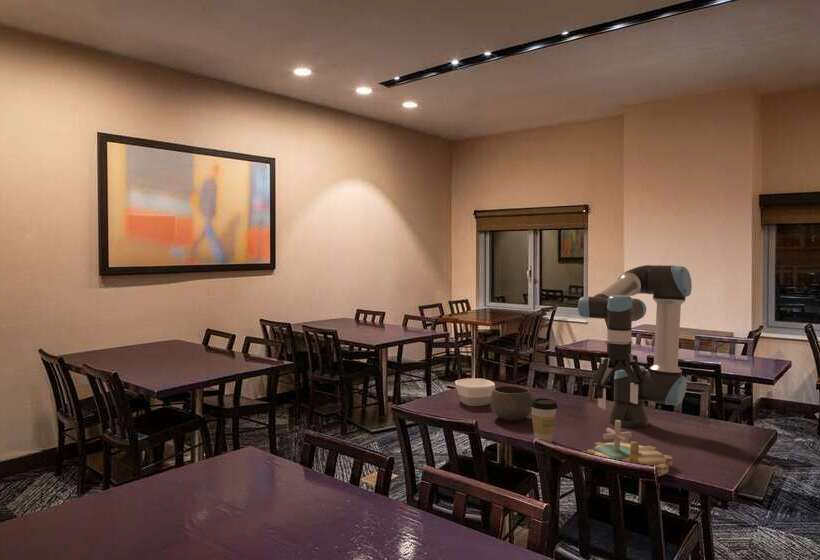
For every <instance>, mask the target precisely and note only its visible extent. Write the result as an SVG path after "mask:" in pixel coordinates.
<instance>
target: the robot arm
mask: <svg viewBox="0 0 820 560" xmlns="http://www.w3.org/2000/svg"><path fill="white" fill-rule="evenodd" d="M692 287H693V285H692V278H691V274H690V272H689V270H688V268H687V267H685V266H682V265H675V264H674V265H661V264H660V265H658V264H655V265H651V264H645V265H640V266H636V267H634V268H631V269H628V270H627V271H625V272H623V273H621V274H620V275H619V276H618V277H617V280H616V281H614V282H612V283H611V284H610V285H609V286H607V287H605V288H603V289H602V290H601V291H599V292H598V293H596V294H595V295H593V296H582V297H580V298H579V299H578V302H577V313H578V315H579V316H580V317H582V318H589V319H601V320H607V327H606V328H607V330H606V331H607V333H606V337H607V339H606V340H607V343H606V352H607V354H608V356H607V357H600V358H599V364H598V367H597V370H596V372H595V374H594V377H593V379H592V382H591V386H592V387H594V388H596V397H597V407H598V408H601V409H602V410H605V409H607V408H606V406H607V405H606V404H607V399H606V398H607V395H606V393H607V388H605V387H606V385H607V383H608V382H609V380H610V379H611V377H612V376H614V377H613V403H612V406H611V410H610V413H609V415H608V421H609V423H610V424H613V425H615V420H620V421H621V427H623V428H629V429H630V428H631V429H641V428H646V427H648V426H649V417H648V414H647V411H646V407H645V402H651V403H652V402H653V403H657V404H664V405H666V406H670V405H671V406H678V405H679V404H681V403H682V402H683V400H684V397H685V395H686V392H687V387H688V382H687V381H688V380H687V377H685V376H684V375H683V373H682V372H683V370H682V369H681V368H680V367H679V366H678V365H679V351H680V350H679V347H680V331H681V330H680V329H681V309H682V307H681V306H682V304H683V303H685V302H686V297H689V296H690V295H691V294H692V290H693V289H692ZM638 294H640V295H641V294H642V295H643V294H645V295H652V300H653V301H654V302H655V304H656V312H655V313H656V315H655V330H654V331H655V336H654V355H653V357H654V358H653V364H652V365H651V366H649V367H648V368H649V370H648V371H647V369H646V367H645V366H642V365H640V364H639V361H638V355H636V354H635V355H634V354H632V344H631V342H632V325H633V324H632V323H633V322H637V321H639V320H641V319H643V318H644V317H645V315H646V313H647V306H646V304H645V302H644V301H643V300H641V299H640V298H632V296H635V295H638ZM613 374H614V375H613Z"/></svg>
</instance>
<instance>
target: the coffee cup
mask: <svg viewBox="0 0 820 560" xmlns="http://www.w3.org/2000/svg"><path fill="white" fill-rule="evenodd" d="M530 406H531V407H532V411H531V419H532V427H533V428H532V429H533V437H534V440H535V439H536V438H538V439H543V440H547V441H551V442H553V436H554V432H555V424H556V418H557V409H558V408H559V407H558V404H557V401H556V400H555V399H552V398H548V397H535V398H533V400H532V402H531V405H530Z"/></svg>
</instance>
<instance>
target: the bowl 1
mask: <svg viewBox="0 0 820 560" xmlns="http://www.w3.org/2000/svg"><path fill="white" fill-rule="evenodd" d="M454 385H455V388H456V391H457V394H458V396H459V400H460V402H461V403H462V404H463V405H465V406H468V407H481V406H487V405H490V398H491V394H492V391H493V390H494V388H495V387H496V384H495V382H494V381H493V380H492V381H491V380H489V379H486V378H473V377H472V378H462V379H457V380H455V381H454Z"/></svg>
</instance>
